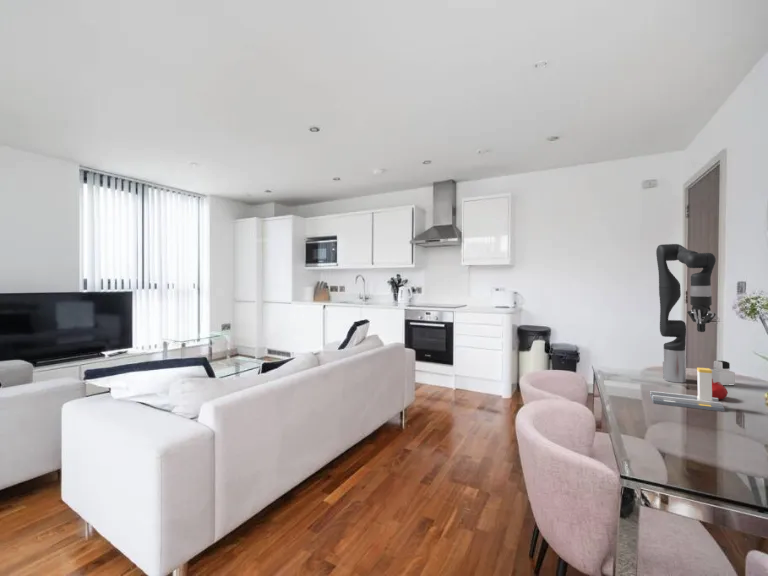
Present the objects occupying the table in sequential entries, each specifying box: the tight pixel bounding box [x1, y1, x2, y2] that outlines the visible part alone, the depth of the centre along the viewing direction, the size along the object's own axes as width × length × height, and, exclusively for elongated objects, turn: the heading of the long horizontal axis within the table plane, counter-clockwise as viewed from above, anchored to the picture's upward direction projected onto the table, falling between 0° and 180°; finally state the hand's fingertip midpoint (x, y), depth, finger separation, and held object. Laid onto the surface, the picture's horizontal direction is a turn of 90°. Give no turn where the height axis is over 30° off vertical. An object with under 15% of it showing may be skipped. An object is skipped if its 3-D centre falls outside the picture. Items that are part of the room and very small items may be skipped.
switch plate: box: [649, 390, 725, 413], centre depth 159 cm, size 24×11×3 cm, turn 59°
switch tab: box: [696, 367, 713, 402], centre depth 156 cm, size 4×5×15 cm
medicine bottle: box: [710, 360, 736, 385], centre depth 185 cm, size 7×7×12 cm
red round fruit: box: [712, 379, 728, 401], centre depth 165 cm, size 10×10×9 cm
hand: (701, 331), depth 166 cm, fingers closed
